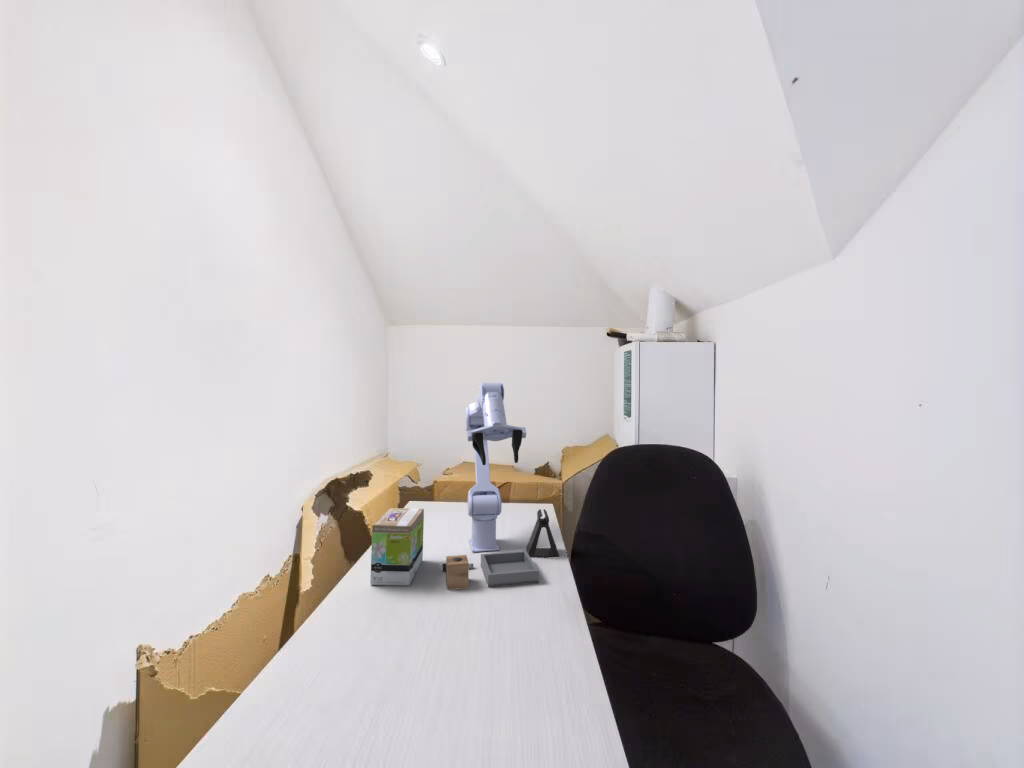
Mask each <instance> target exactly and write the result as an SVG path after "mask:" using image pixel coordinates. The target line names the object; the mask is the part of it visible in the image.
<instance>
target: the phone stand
mask: <svg viewBox="0 0 1024 768" xmlns="http://www.w3.org/2000/svg"><path fill="white" fill-rule="evenodd" d="M536 514H537V515H536V517H537V518H536V521H535V524H534V527H533V530H532V532H531V536H530V537H529V540H528V542H527V545H526V551H527V553H528V555H529V556H530V558H535V557H537V559H538V558H539V559H540V558H544V559H545V558H546V559H547V558H549V557H560V554H559V551H558V548H557V545H556V541H555V539H554V536H553V534H552V530H551V528H550V525H549V524H550V517H549V515H548V512H547V510H546V509H543V512H542V509H541V508H540V509H538V510H537V513H536ZM543 514H544V517H543ZM542 517H543V518H542ZM543 528H545V531H546V535H547V539H548V542H549V546H550V547H537V546H538V544H539V543H538V542H539V538H540V536H541V531H542V529H543ZM535 559H536V558H535ZM549 559H550V558H549Z"/></svg>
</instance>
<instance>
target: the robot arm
mask: <svg viewBox="0 0 1024 768" xmlns="http://www.w3.org/2000/svg"><path fill="white" fill-rule="evenodd" d="M504 399H505V388H504V383H502V382H482V384H479V387H478V394H477V400H476V401H475V402H472V403H469V404H468V406H466V408H465V412H464V421H465V432H466V436H467V442H472V444H471V445H472V448H473V453H474V454H473V457H474V472H475V484H474V485H473V486H472V487H471V488H470V489H469V490H468V492H467V501H466V502H467V506H466V507H467V508H466V509H467V515H468V516H469V517H471V538H468V543H469V547H470V550H471V552H472V553H480V552H490V551H491V552H492V551H493V552H494V551H499V550H500V547H499V546H498V543H497V542H496V541H497V519H498V516H500V515H501V514H502V508H503V507H502V504H503V503H502V497H501V493H500V489H499V488H498V487H497V486H496V485H494V484H492V482H491V475H490V473H491V472H490V462H489V460H490V459H489V449H488V441H490V442H500V441H503V440H507V439H510V438H511V448H512V452H513V460H514V463H515V464H518V463H519V450H520V448H521V445H522V440H523V439H526V438H527V430H526V427H525V426H523V427H521V426H514V425H510V424H507V423H508V422H507V417H506V416H507V415H506V410H505V404H504Z"/></svg>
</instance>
